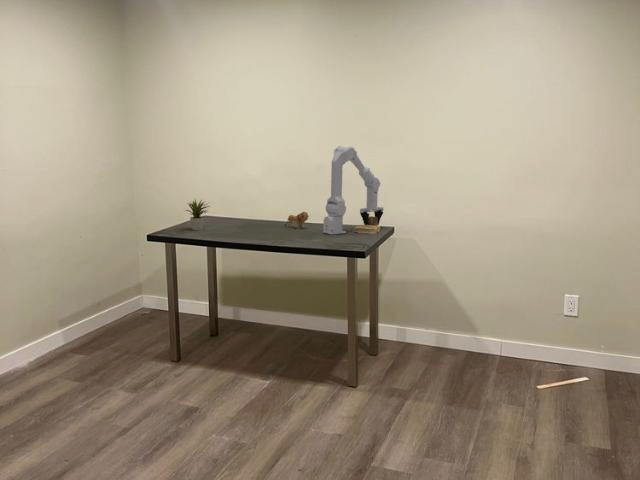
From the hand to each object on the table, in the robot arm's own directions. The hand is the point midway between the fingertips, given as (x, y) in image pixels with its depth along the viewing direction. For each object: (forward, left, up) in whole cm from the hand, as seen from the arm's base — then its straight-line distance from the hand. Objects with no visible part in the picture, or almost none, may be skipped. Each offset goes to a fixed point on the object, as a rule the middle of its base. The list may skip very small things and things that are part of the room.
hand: (371, 225), depth 321 cm
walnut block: (0, 0, -2) cm, 2 cm away
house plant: (-81, +44, -2) cm, 92 cm away
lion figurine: (-33, +22, -2) cm, 40 cm away
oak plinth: (-9, -8, -2) cm, 12 cm away
